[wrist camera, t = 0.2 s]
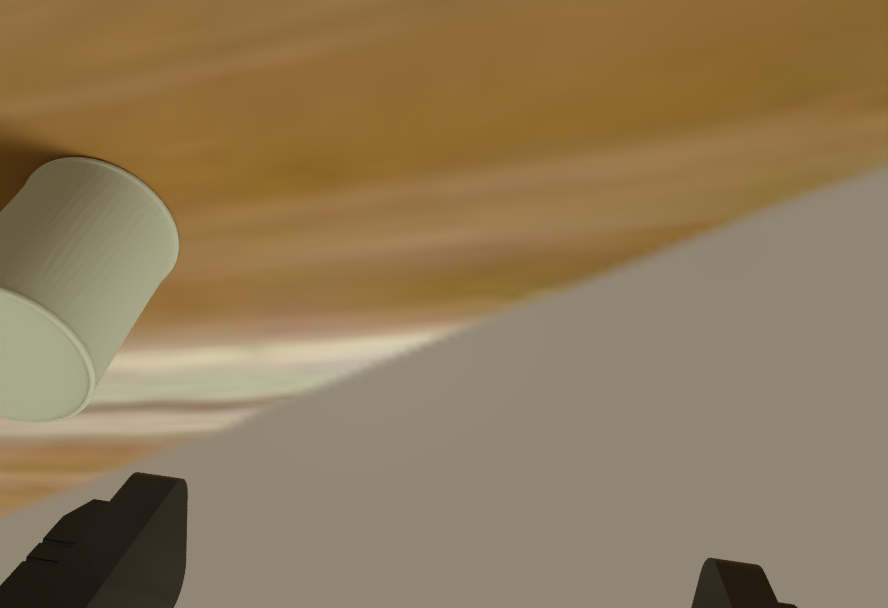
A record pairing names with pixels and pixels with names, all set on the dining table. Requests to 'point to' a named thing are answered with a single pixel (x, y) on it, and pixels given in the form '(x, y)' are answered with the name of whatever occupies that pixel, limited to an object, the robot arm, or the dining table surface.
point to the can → (74, 281)
